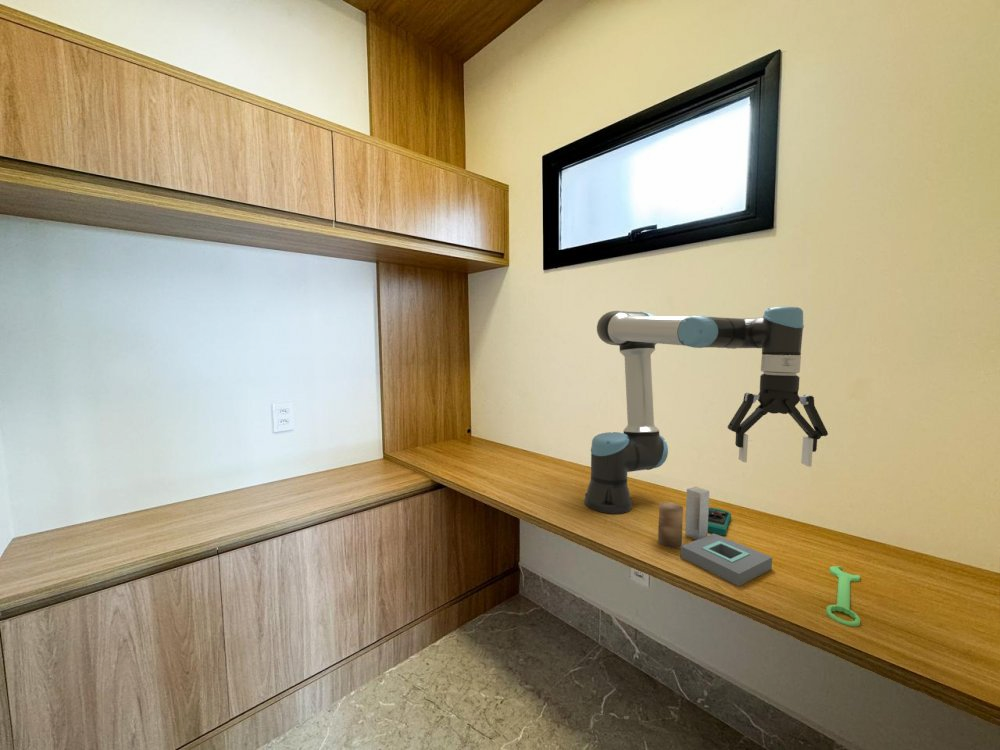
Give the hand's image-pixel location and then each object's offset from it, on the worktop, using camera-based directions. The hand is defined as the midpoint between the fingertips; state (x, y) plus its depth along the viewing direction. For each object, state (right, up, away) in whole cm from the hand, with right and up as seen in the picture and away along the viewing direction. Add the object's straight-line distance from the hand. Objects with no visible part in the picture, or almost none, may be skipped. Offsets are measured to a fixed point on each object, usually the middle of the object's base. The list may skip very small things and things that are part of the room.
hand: (773, 462), depth 94 cm
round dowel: (-20, -24, +11) cm, 33 cm away
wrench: (+7, -26, -11) cm, 29 cm away
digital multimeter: (-2, -24, +23) cm, 33 cm away
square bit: (-11, -24, +15) cm, 30 cm away
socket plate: (-11, -24, +1) cm, 27 cm away
